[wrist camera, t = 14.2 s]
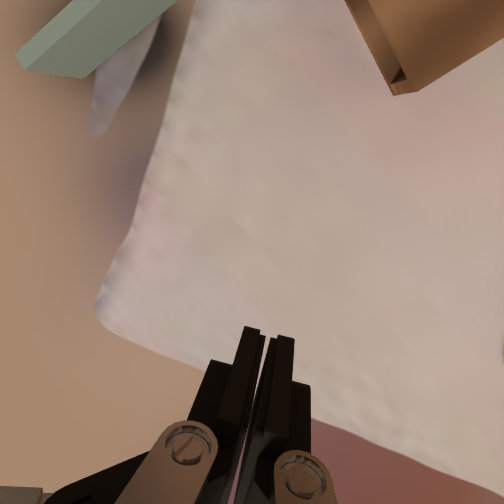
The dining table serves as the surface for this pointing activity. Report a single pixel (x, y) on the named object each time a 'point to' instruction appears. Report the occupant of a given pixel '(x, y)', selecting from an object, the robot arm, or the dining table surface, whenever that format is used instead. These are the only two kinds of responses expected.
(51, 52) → the sage green panel
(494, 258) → the dining table surface
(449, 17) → the cabinet
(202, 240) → the dining table surface
